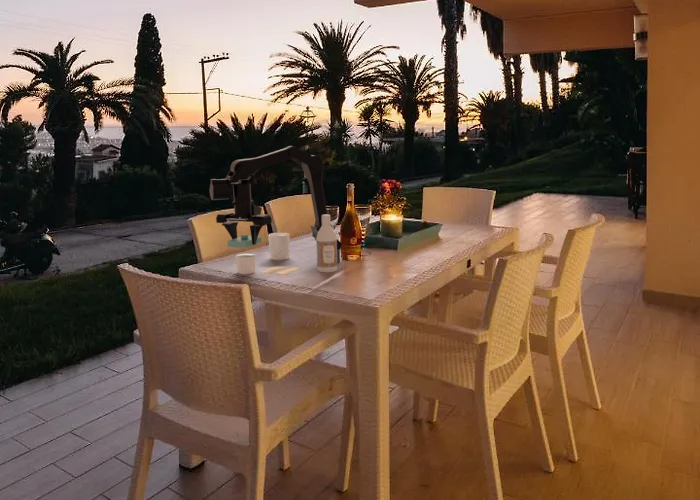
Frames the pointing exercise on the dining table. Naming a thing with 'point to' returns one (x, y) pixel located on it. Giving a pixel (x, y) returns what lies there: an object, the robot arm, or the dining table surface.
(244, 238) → the lid
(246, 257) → the cream round container
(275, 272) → the mat
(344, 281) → the dining table surface
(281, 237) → the white cup
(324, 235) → the bath foam
